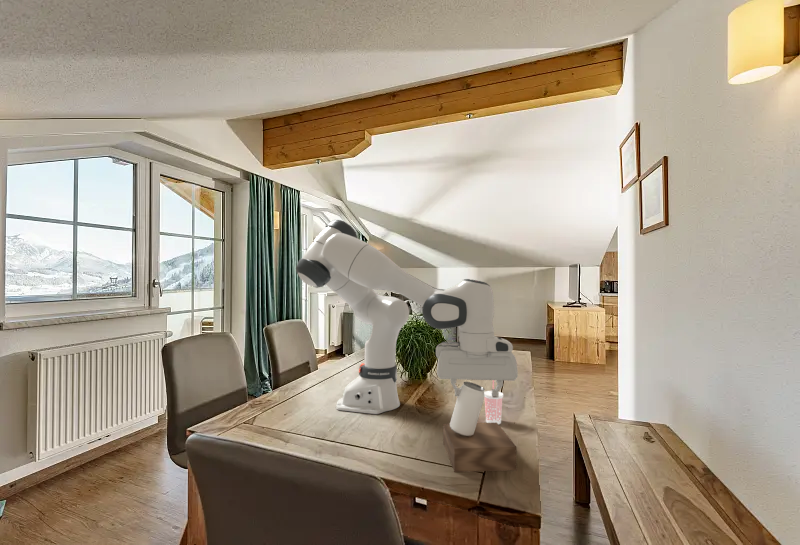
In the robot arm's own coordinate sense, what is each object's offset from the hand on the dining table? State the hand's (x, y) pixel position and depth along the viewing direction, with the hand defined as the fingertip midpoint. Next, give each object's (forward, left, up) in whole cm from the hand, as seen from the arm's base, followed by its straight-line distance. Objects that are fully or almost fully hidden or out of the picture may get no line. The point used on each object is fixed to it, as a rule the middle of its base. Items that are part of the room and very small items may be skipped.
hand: (476, 396), depth 98 cm
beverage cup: (+8, +24, -16) cm, 30 cm away
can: (-4, 0, -9) cm, 10 cm away
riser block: (0, 0, -16) cm, 16 cm away
